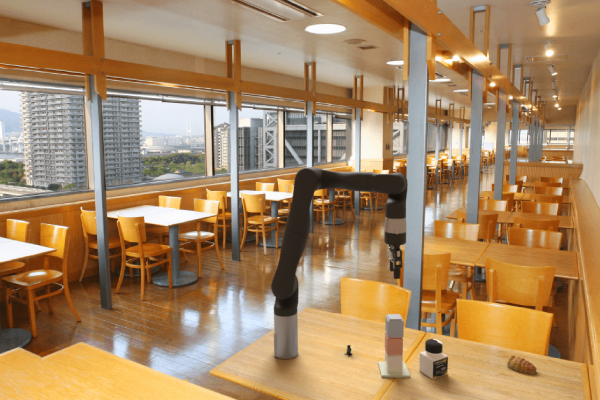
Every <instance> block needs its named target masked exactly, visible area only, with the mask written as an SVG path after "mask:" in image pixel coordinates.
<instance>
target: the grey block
mask: <svg viewBox="0 0 600 400" xmlns="http://www.w3.org/2000/svg"><path fill="white" fill-rule="evenodd" d="M384 320H385V324H384V325H385V326H384V327H385V328H384V329H385V332H386V334H387V336H388V337H402V338H404V332H405V331H404V329H405V328H404V325H405V324H404V323H405V322H404V319H403V317H402V315H401V314H399V313H388V314H385V319H384Z"/></svg>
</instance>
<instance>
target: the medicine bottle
mask: <svg viewBox="0 0 600 400" xmlns="http://www.w3.org/2000/svg"><path fill="white" fill-rule="evenodd" d="M443 348H444V344H443V342H442V341H441V340H438V339H435V338H429V339H426V340H425V344H424V351H421V352H419V365H418V366H419V368H418V369H419V371H420V373H423V374H424V375H426V376H427V377H429V378H430V379H432V380H435V379H437V378H441V377H444V376H446V375H448V370H449V369H448V368H449V367H448V366H449V355H448V354H446V353H444V352H443V351H444V349H443Z"/></svg>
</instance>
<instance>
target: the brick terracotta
mask: <svg viewBox="0 0 600 400" xmlns="http://www.w3.org/2000/svg"><path fill="white" fill-rule="evenodd" d="M403 349H404V337H388V336H387V334H386V331H385V332H384V351H385V350H386V353H387V355H402V356H403V354H404V353H403V352H404V350H403Z"/></svg>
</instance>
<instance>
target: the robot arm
mask: <svg viewBox="0 0 600 400" xmlns="http://www.w3.org/2000/svg"><path fill="white" fill-rule="evenodd" d="M293 181H294V183H293V191H292V198H291V199H292V200H291V204H290V208H289V210H288V211H289V212H288V215H287V218H286V219H287V220H286V224H285V227H284V231H283V236H282V241H281V245H280V253H279V258H278V261H277V266H276V270H275V273H274V275H273V278H272V281H271V285H270V289H271V293H272V294H273V297H275V299H274V304H273V323H274V324H273V327H274V330H273V354H274V356H273V357H274V358H279V359H282V360H290V359H294V358H296V357H297V356H298V355H299V331H298V329H299V327H298V325H299V323H298V308H299V307H298V305H299V287H300V286H299V280H298V276H297V275H296V273H297V268H298V265H299V263H300V261H301V258H302V256H303V255H304V252H305V249H306V246H307V243H308V239H309V235H310V231H311V213H310V211H311V204H312V201H313V198H314V195H315V192H316V191H319V190H327V189H340V190H346V191H351V192H363V193H377V194H378V193H380V194H386V195H387V199H386V203H385V207H384V208H385V211H384V215H385V218H384V228H383V230H384V232H383V233H384V235H383V236H384V237H383V238H384V240H383V241H384V244H386V245H388V249H387V250H388V254H387V255H388V256H387V257H388V261H389V271H390V273H391V272H393V279H394V280H400V279H401V269H403V250H402V249H401V246H404V245H405V244H407V208H406V207H407V205H406V203H407V198H408V197H407V196H408V195H407V194H408V179H407V176H406V175H405V174H403V173H402V172H393V173H377V172H373V171H334V170H327V169H323V168H318V167H315V166H306V167H302V168H300V169H299V170H298V171H297V173H296V174H295V177H294V180H293Z"/></svg>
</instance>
